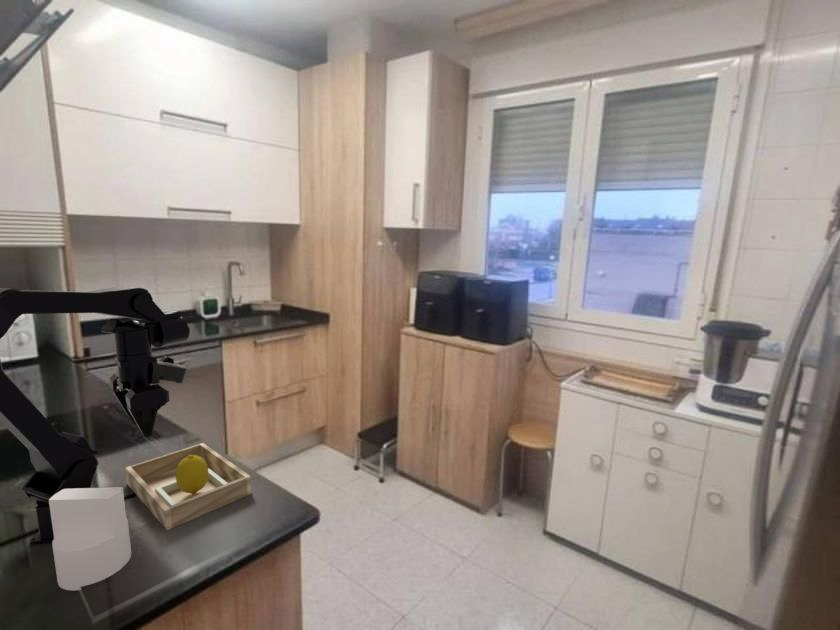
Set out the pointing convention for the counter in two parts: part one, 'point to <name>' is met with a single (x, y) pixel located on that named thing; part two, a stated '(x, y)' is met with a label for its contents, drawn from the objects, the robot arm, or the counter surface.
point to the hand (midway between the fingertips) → (142, 429)
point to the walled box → (187, 505)
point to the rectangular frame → (172, 486)
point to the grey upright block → (89, 535)
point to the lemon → (192, 474)
